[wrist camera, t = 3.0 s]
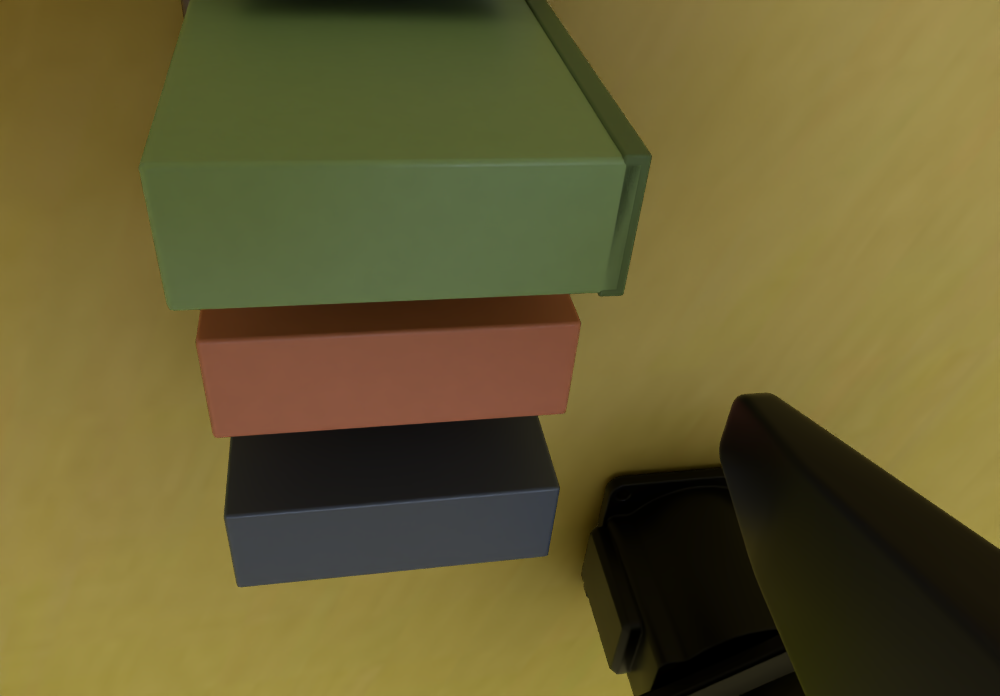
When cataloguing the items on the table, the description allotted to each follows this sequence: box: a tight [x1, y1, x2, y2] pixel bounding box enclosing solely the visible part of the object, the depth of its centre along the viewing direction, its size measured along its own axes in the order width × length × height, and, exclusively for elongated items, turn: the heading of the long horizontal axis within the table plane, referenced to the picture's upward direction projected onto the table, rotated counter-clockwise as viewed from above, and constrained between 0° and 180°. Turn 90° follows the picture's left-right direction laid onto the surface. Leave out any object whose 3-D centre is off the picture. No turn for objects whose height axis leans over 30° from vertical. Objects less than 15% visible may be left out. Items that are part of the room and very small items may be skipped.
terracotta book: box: [196, 294, 581, 438], centre depth 17 cm, size 6×2×7 cm, turn 85°
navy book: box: [224, 415, 560, 587], centre depth 20 cm, size 6×2×7 cm, turn 85°
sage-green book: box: [139, 0, 652, 311], centre depth 14 cm, size 6×2×8 cm, turn 85°
